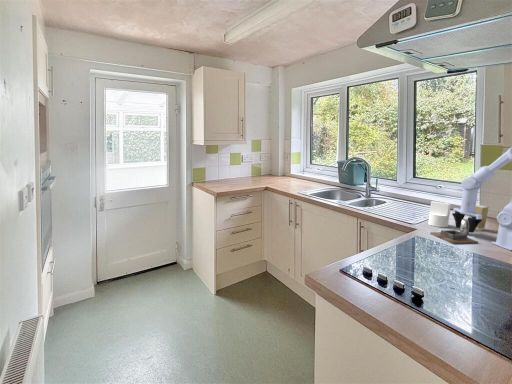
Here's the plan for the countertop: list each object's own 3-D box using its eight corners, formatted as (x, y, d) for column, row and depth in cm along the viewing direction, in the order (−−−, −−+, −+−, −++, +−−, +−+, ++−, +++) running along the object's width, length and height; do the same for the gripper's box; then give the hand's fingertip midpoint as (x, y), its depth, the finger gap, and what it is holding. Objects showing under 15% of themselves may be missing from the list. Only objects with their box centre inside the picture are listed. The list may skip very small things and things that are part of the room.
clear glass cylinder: (470, 235, 144) (472, 220, 143) (463, 235, 144) (465, 221, 142) (464, 232, 148) (466, 218, 146) (457, 232, 147) (459, 219, 146)
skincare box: (466, 227, 156) (469, 204, 154) (472, 226, 158) (475, 204, 156) (479, 231, 150) (483, 207, 148) (485, 230, 152) (488, 206, 150)
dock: (477, 243, 132) (478, 237, 132) (453, 244, 131) (454, 238, 130) (453, 233, 146) (453, 227, 145) (430, 234, 144) (431, 228, 144)
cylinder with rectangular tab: (425, 224, 161) (428, 202, 159) (432, 222, 166) (435, 200, 164) (443, 228, 154) (447, 205, 152) (450, 225, 159) (453, 203, 158)
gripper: (489, 205, 136) (485, 234, 139) (463, 199, 150) (460, 225, 153) (475, 205, 135) (471, 234, 138) (451, 199, 149) (447, 225, 152)
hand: (464, 230), depth 145 cm, fingers open, 7 cm apart
